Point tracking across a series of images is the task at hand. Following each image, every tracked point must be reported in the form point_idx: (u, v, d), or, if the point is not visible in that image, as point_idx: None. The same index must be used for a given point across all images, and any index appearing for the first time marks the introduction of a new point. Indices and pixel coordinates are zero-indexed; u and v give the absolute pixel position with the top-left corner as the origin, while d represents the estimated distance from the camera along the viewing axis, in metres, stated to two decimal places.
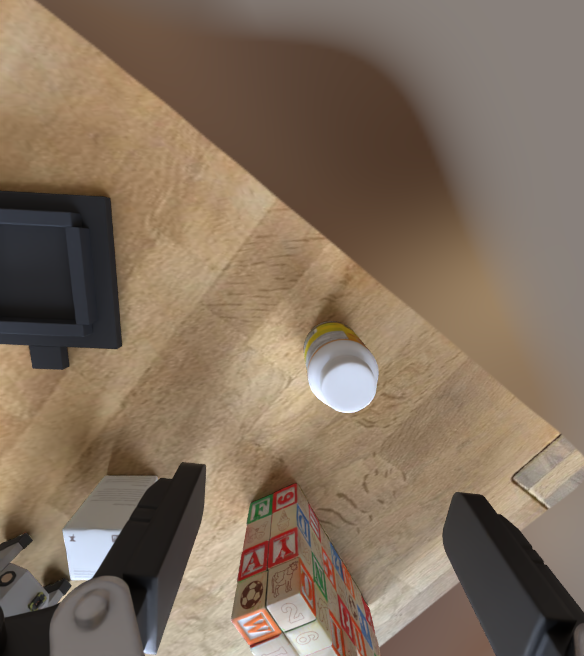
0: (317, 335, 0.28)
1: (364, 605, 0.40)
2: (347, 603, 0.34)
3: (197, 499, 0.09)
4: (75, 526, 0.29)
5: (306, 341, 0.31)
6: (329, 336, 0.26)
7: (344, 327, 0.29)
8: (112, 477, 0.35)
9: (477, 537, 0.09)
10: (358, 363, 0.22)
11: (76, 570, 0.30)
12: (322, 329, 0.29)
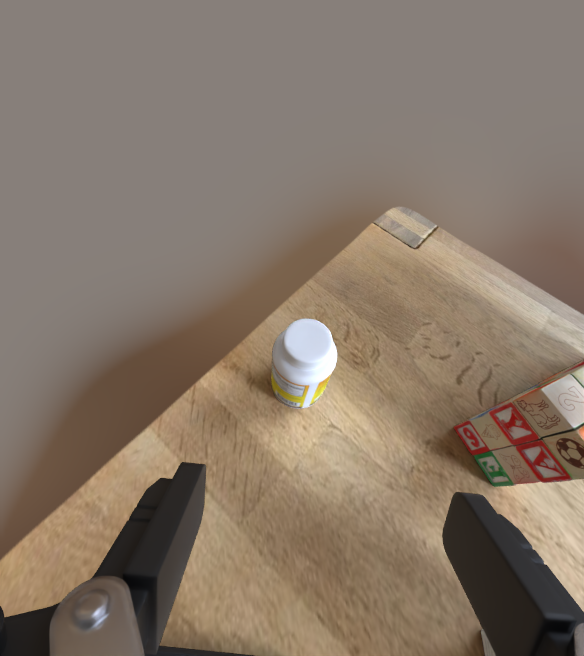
0: (276, 386, 0.30)
1: None
2: (574, 366, 0.31)
3: (197, 499, 0.09)
4: None
5: (287, 402, 0.31)
6: (273, 369, 0.28)
7: None
8: None
9: (477, 537, 0.09)
10: (285, 331, 0.25)
11: None
12: (273, 383, 0.31)
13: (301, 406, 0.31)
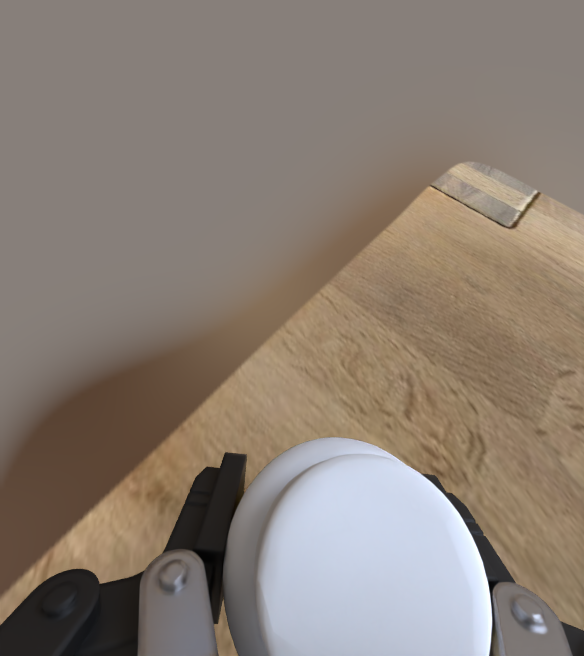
0: None
1: None
2: None
3: (241, 486, 0.10)
4: None
5: None
6: None
7: None
8: None
9: None
10: (267, 529, 0.06)
11: None
12: None
13: None
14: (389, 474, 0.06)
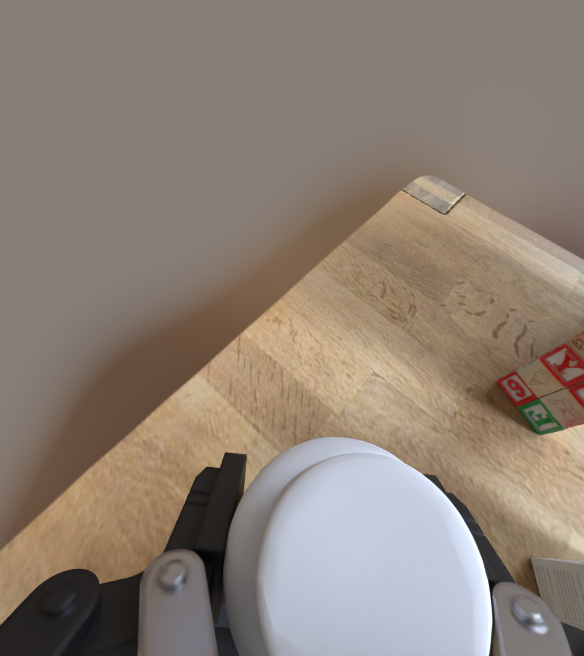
0: None
1: None
2: None
3: (241, 486, 0.10)
4: None
5: None
6: None
7: None
8: None
9: None
10: (267, 528, 0.06)
11: None
12: None
13: None
14: (389, 473, 0.06)
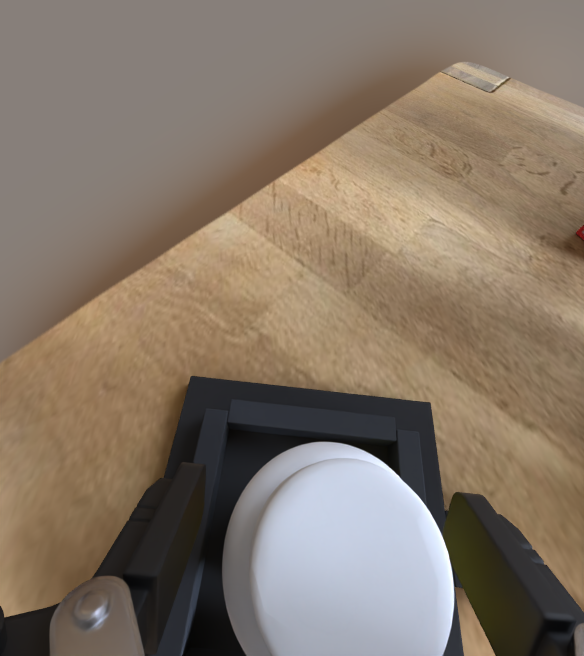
0: None
1: None
2: None
3: (197, 499, 0.09)
4: None
5: None
6: None
7: None
8: None
9: (477, 537, 0.09)
10: (259, 525, 0.06)
11: None
12: None
13: None
14: (368, 476, 0.07)
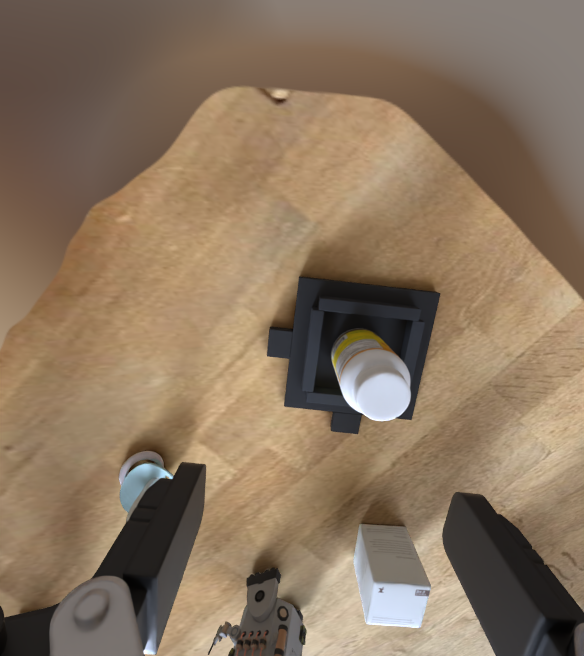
0: (349, 342, 0.29)
1: None
2: None
3: (197, 499, 0.09)
4: (383, 579, 0.33)
5: (335, 346, 0.31)
6: (362, 344, 0.27)
7: (375, 335, 0.30)
8: (369, 526, 0.39)
9: (477, 537, 0.09)
10: (395, 373, 0.23)
11: (375, 616, 0.34)
12: (353, 336, 0.30)
13: (331, 358, 0.32)
14: (405, 404, 0.23)
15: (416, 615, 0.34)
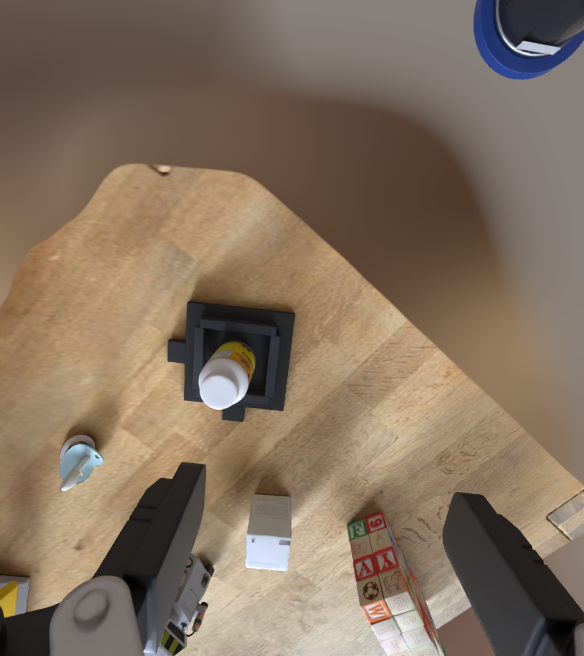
0: (216, 352, 0.39)
1: None
2: (419, 599, 0.48)
3: (197, 499, 0.09)
4: (255, 532, 0.43)
5: None
6: (219, 354, 0.37)
7: (239, 347, 0.40)
8: (260, 496, 0.49)
9: (477, 537, 0.09)
10: (224, 376, 0.33)
11: (250, 561, 0.44)
12: (222, 347, 0.40)
13: None
14: (233, 397, 0.33)
15: (282, 560, 0.44)
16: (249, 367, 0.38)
